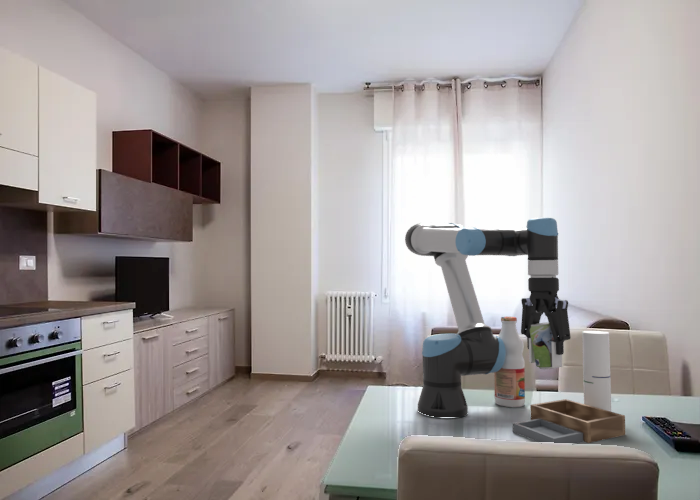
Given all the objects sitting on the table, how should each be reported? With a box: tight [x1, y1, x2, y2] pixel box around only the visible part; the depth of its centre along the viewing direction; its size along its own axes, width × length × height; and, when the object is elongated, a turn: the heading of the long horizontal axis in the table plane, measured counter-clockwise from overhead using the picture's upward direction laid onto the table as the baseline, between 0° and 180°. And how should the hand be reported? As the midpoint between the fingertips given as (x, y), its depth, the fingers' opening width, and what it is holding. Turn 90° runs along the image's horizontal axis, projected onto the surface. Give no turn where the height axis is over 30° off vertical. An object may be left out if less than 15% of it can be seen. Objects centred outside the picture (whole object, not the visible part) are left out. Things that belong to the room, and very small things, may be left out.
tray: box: [512, 418, 584, 444], centre depth 130 cm, size 14×10×2 cm
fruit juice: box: [493, 316, 526, 408], centre depth 163 cm, size 9×9×28 cm
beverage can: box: [530, 321, 555, 370], centre depth 131 cm, size 6×7×12 cm
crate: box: [530, 398, 626, 444], centre depth 137 cm, size 19×14×5 cm
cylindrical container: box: [581, 330, 612, 412], centre depth 146 cm, size 7×7×25 cm
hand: (545, 364), depth 131 cm, fingers closed on beverage can, 7 cm apart
